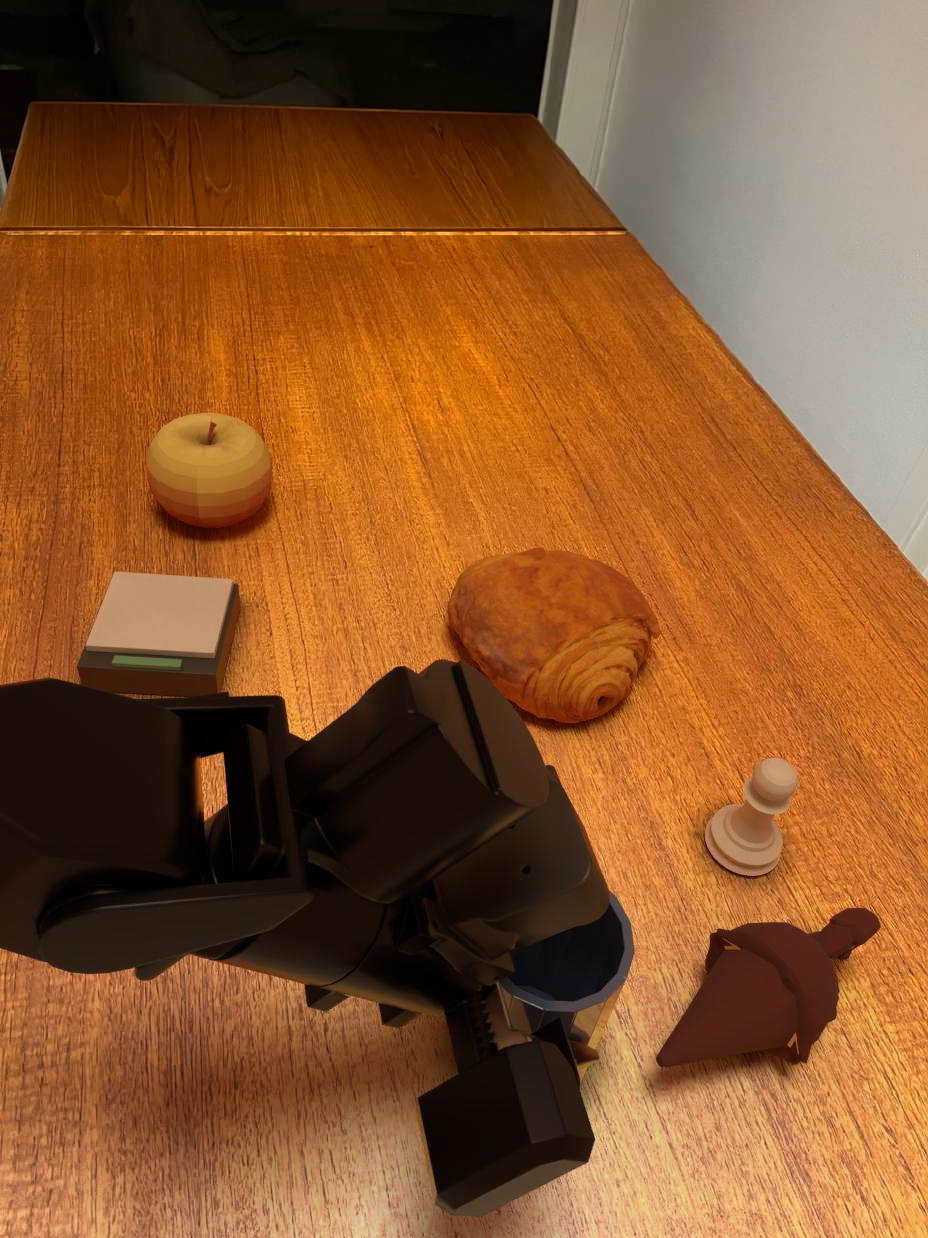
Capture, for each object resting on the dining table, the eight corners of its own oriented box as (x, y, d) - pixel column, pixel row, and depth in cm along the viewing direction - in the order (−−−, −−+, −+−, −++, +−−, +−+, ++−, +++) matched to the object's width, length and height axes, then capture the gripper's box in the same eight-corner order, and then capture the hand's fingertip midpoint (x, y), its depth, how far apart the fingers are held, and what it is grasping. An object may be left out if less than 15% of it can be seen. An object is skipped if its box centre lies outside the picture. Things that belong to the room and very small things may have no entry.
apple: (287, 481, 83) (283, 400, 78) (259, 553, 76) (253, 470, 71) (174, 466, 84) (162, 384, 78) (135, 537, 77) (120, 452, 71)
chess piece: (777, 887, 59) (822, 811, 53) (700, 866, 59) (737, 788, 54) (780, 825, 62) (823, 747, 57) (706, 805, 63) (742, 725, 57)
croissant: (506, 770, 66) (527, 706, 60) (417, 600, 74) (427, 528, 68) (682, 708, 71) (718, 644, 65) (581, 555, 79) (604, 485, 73)
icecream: (743, 1127, 42) (939, 972, 50) (647, 971, 45) (847, 847, 53) (670, 1149, 48) (857, 1007, 55) (589, 1009, 51) (777, 891, 58)
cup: (453, 1115, 48) (476, 1007, 40) (454, 980, 53) (475, 859, 44) (591, 1119, 48) (643, 1014, 40) (579, 985, 53) (623, 867, 45)
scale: (82, 691, 65) (74, 660, 63) (117, 599, 71) (110, 568, 69) (218, 698, 66) (214, 668, 63) (240, 607, 72) (237, 577, 70)
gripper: (584, 1063, 27) (805, 1117, 37) (436, 607, 40) (630, 740, 50) (307, 1216, 31) (577, 1227, 41) (253, 753, 43) (469, 849, 54)
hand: (565, 983), depth 46 cm, fingers closed on cup, 7 cm apart
